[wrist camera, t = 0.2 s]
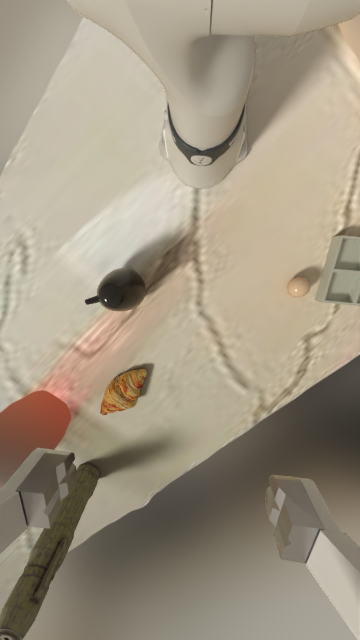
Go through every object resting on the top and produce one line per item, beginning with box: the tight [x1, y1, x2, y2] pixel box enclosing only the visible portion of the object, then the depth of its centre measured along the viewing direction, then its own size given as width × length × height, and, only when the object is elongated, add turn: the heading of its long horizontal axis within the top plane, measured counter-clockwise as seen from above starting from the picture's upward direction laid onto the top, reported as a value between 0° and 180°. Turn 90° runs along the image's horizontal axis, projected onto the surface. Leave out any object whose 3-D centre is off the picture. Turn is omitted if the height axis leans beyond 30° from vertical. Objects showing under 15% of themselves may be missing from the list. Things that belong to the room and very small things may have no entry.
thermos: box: [0, 463, 100, 640], centre depth 59 cm, size 9×12×35 cm
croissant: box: [100, 369, 147, 415], centre depth 62 cm, size 21×10×8 cm, turn 138°
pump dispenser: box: [85, 268, 146, 311], centre depth 47 cm, size 10×10×15 cm
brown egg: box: [287, 277, 310, 297], centre depth 49 cm, size 5×5×5 cm
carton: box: [315, 235, 360, 306], centre depth 48 cm, size 15×15×3 cm
